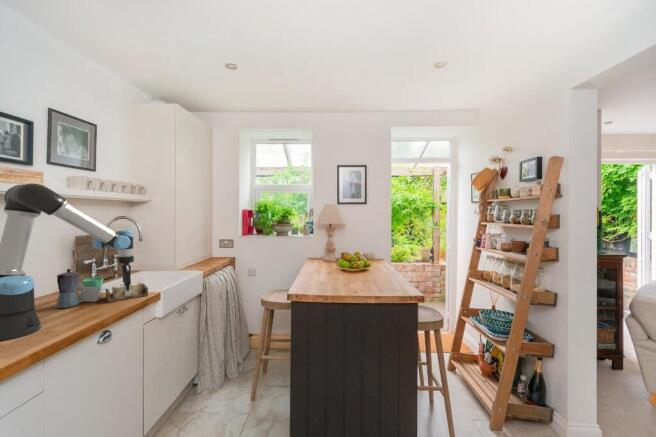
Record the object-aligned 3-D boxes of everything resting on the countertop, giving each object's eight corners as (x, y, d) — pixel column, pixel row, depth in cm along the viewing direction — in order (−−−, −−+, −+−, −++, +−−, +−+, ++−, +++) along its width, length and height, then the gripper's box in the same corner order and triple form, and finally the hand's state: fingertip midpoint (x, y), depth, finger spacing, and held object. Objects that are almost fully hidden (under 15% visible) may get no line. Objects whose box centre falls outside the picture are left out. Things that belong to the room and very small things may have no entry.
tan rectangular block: (113, 298, 162) (113, 288, 162) (112, 296, 166) (112, 286, 166) (142, 293, 172) (141, 283, 171) (140, 292, 175) (140, 282, 175)
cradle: (108, 302, 157) (107, 294, 157) (106, 297, 167) (105, 289, 167) (148, 295, 170) (147, 287, 170) (143, 291, 180) (143, 283, 180)
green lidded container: (100, 296, 169) (100, 280, 169) (79, 298, 165) (79, 281, 165) (108, 290, 183) (108, 275, 182) (89, 292, 179) (89, 276, 179)
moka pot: (85, 301, 161) (84, 266, 160) (71, 309, 146) (70, 271, 146) (64, 303, 157) (63, 267, 157) (48, 312, 143) (47, 273, 142)
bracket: (99, 301, 164) (101, 284, 164) (94, 303, 160) (96, 286, 160) (77, 299, 162) (80, 282, 162) (72, 302, 158) (74, 284, 158)
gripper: (136, 256, 164) (137, 296, 164) (131, 253, 177) (132, 290, 178) (120, 258, 159) (121, 299, 159) (116, 255, 172) (117, 292, 173)
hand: (127, 294), depth 168 cm, fingers closed on tan rectangular block, 5 cm apart
